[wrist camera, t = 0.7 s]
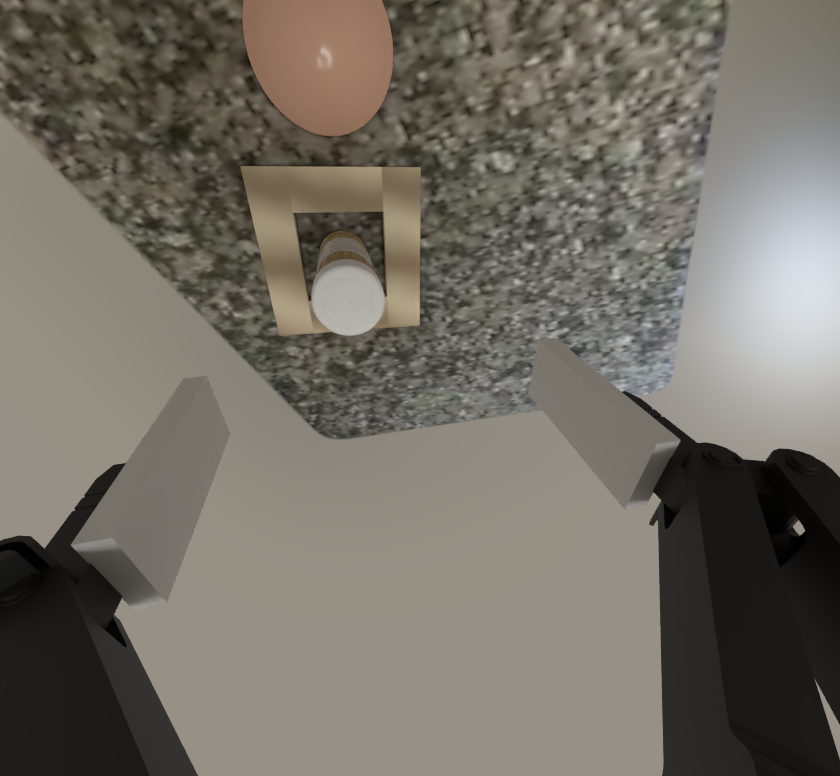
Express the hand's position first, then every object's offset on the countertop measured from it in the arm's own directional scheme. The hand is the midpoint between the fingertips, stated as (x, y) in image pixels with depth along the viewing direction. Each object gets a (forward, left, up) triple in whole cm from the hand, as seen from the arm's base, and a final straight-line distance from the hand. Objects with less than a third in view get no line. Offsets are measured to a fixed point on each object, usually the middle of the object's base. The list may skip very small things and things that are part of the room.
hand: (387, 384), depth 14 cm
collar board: (0, -1, -23) cm, 23 cm away
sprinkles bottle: (0, -1, -23) cm, 23 cm away
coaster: (-14, -1, -23) cm, 27 cm away
